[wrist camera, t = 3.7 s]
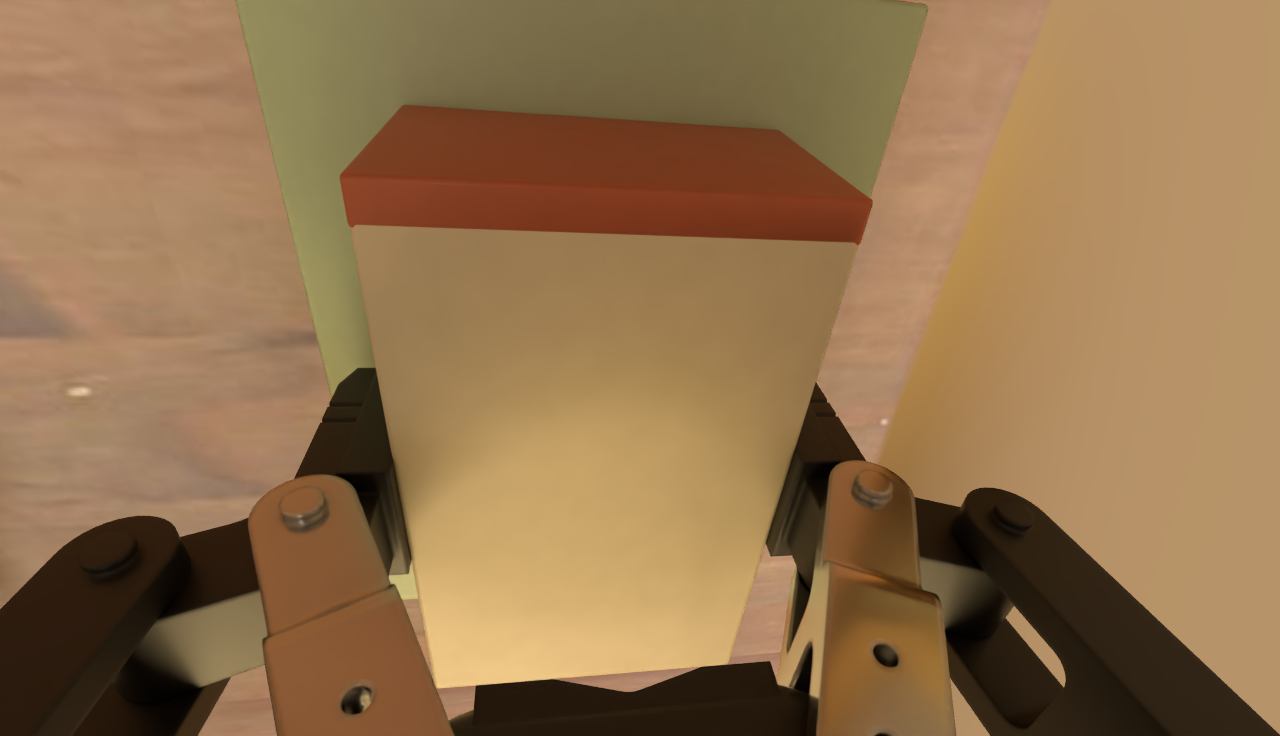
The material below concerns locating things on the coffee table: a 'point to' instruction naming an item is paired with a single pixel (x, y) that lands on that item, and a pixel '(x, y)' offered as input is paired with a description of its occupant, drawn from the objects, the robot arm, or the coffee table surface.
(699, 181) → the top book
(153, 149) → the coffee table surface
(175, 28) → the coffee table surface
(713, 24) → the bottom book
